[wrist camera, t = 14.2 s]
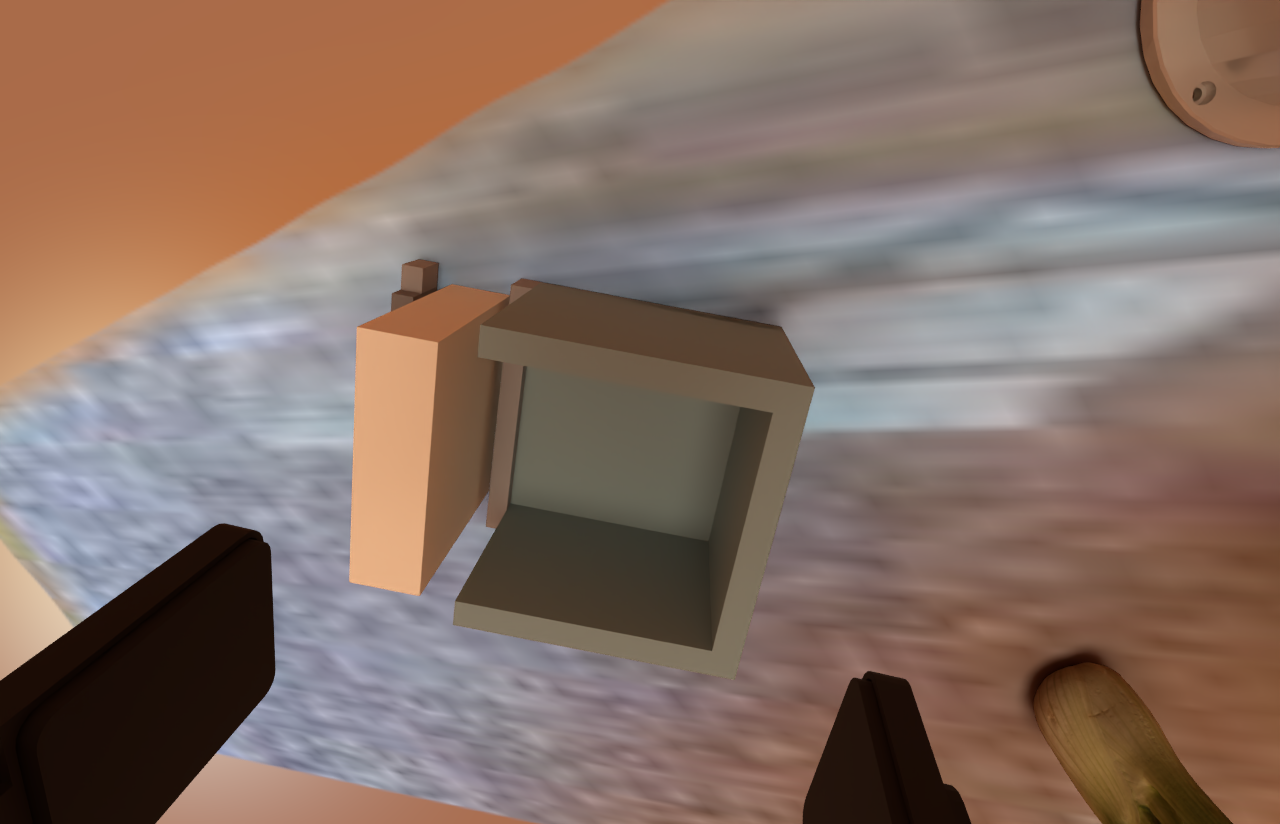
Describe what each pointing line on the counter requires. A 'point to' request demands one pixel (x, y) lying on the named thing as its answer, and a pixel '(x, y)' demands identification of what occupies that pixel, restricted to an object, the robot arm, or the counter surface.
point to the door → (421, 435)
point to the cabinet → (630, 473)
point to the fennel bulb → (1117, 750)
